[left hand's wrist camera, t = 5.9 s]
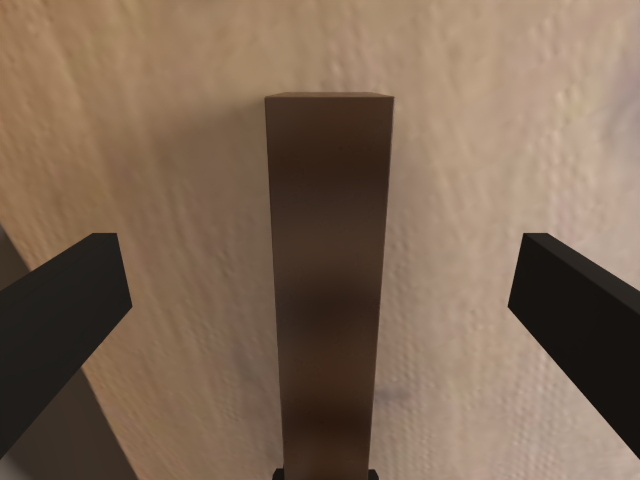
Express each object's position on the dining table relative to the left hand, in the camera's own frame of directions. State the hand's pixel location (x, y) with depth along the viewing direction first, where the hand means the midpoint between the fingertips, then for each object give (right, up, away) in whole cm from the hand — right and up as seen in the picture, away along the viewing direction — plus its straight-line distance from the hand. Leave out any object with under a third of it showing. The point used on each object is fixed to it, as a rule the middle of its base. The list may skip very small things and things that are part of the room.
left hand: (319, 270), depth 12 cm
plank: (0, -5, +13) cm, 14 cm away
